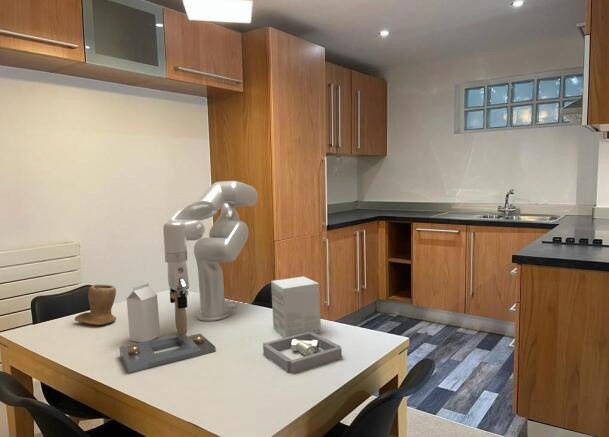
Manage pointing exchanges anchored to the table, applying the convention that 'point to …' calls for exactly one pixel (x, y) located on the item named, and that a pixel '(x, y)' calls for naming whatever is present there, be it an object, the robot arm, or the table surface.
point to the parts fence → (296, 365)
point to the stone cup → (99, 305)
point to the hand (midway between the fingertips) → (178, 305)
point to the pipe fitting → (305, 346)
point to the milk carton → (143, 314)
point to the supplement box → (295, 306)
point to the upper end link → (142, 353)
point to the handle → (179, 315)
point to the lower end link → (198, 339)
